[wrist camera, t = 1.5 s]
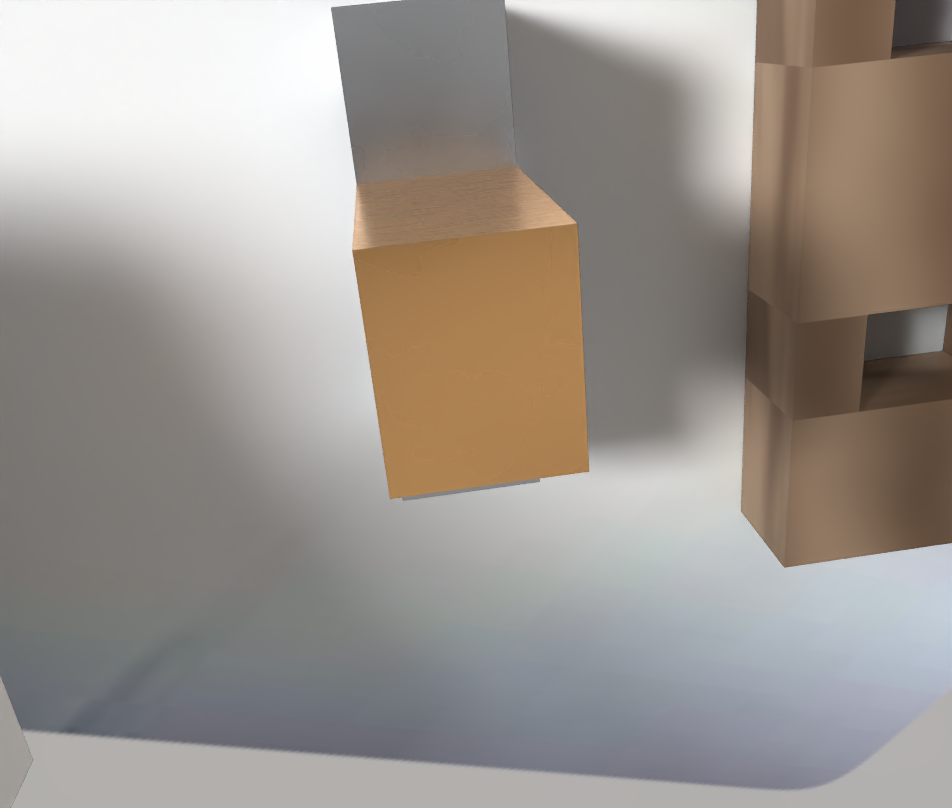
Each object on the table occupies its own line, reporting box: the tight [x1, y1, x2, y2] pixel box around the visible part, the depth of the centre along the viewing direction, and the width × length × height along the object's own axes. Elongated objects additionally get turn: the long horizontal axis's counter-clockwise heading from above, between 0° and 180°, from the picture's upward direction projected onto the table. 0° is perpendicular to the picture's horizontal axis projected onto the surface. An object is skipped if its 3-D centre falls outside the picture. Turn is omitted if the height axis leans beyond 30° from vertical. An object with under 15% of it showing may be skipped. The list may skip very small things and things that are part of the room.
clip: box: [331, 0, 589, 501], centre depth 23 cm, size 4×13×14 cm, turn 5°
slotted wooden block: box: [741, 0, 952, 567], centre depth 29 cm, size 10×26×4 cm, turn 6°
